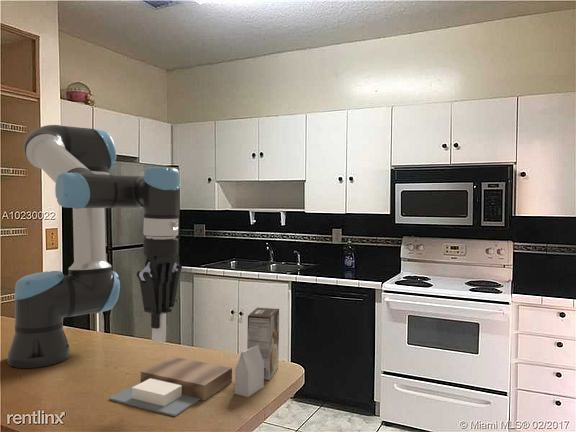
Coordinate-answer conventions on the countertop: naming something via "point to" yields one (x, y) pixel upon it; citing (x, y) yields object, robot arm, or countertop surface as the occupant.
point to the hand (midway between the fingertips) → (158, 341)
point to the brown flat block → (190, 376)
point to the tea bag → (249, 372)
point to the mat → (169, 409)
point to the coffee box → (265, 337)
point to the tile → (157, 392)
